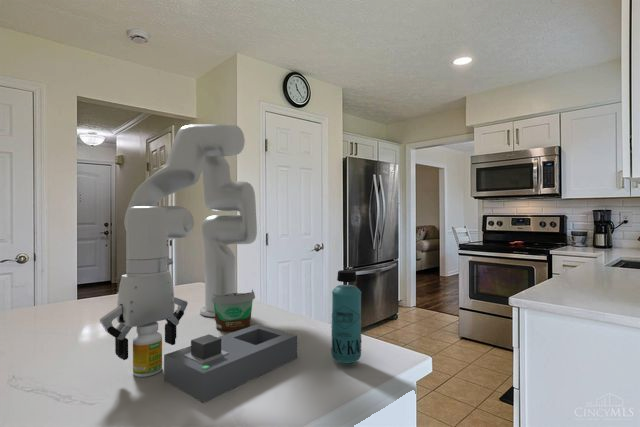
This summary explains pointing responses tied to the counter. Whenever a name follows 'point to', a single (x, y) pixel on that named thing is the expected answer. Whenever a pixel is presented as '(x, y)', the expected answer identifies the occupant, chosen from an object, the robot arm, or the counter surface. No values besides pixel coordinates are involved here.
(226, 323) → the food container
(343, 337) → the beverage bottle
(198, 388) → the control panel
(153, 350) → the supplement bottle
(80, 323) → the counter surface
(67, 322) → the counter surface
